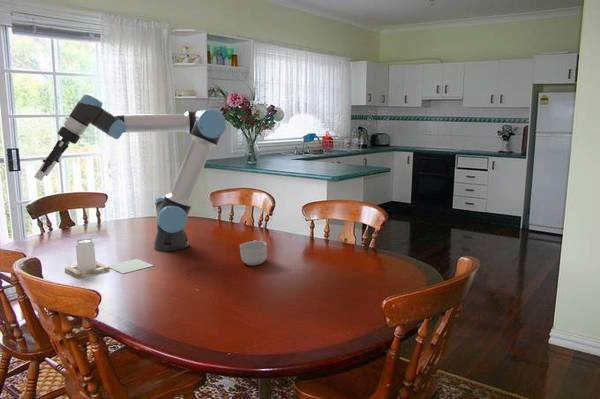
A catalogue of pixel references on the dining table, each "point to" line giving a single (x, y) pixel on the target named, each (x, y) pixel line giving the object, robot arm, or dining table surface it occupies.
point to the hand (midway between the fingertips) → (40, 176)
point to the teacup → (253, 252)
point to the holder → (74, 271)
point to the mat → (130, 266)
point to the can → (85, 255)
